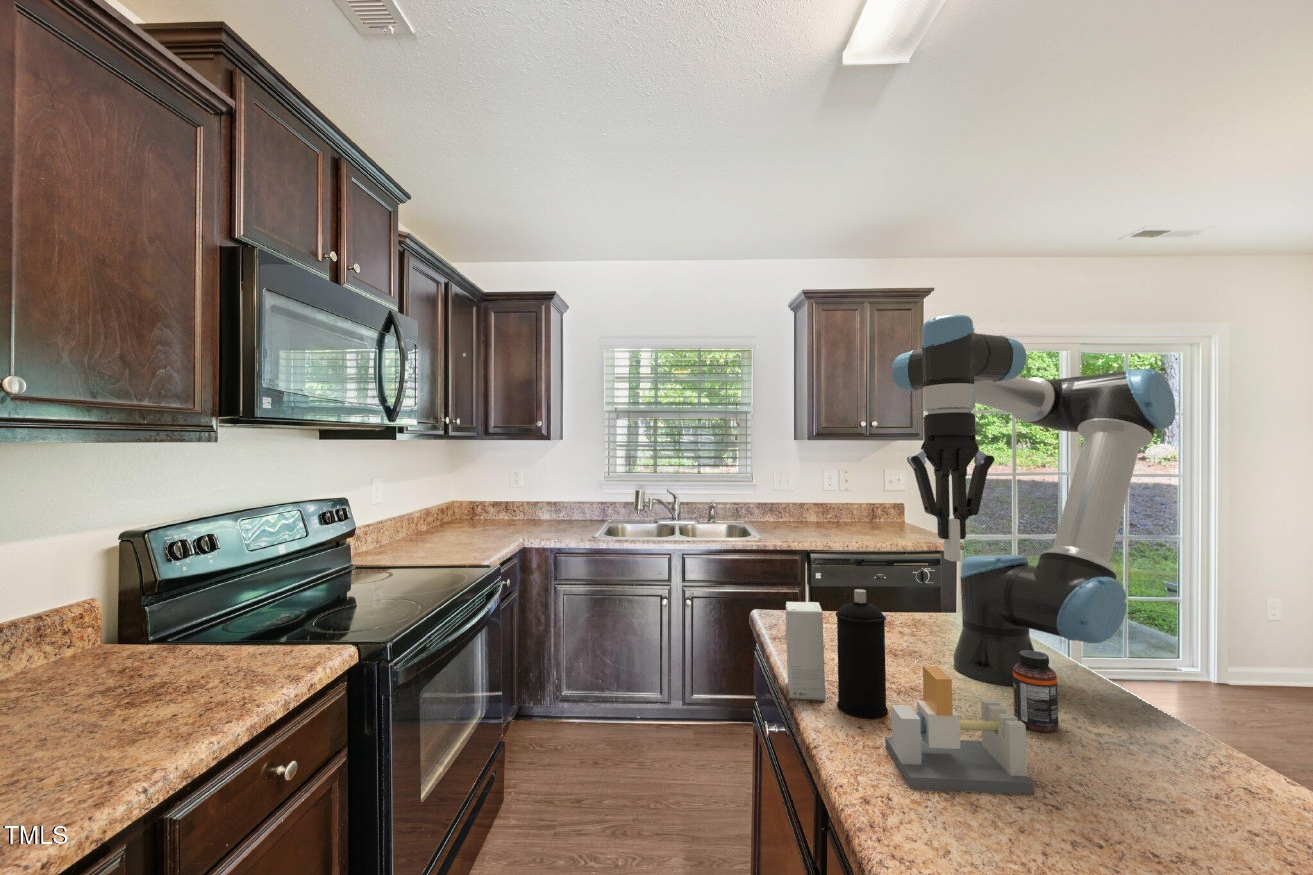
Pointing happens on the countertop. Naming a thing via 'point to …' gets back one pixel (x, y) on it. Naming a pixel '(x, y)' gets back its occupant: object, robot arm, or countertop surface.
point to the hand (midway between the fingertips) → (952, 559)
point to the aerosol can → (861, 659)
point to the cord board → (963, 753)
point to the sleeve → (938, 710)
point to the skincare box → (805, 650)
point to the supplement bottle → (1035, 692)
